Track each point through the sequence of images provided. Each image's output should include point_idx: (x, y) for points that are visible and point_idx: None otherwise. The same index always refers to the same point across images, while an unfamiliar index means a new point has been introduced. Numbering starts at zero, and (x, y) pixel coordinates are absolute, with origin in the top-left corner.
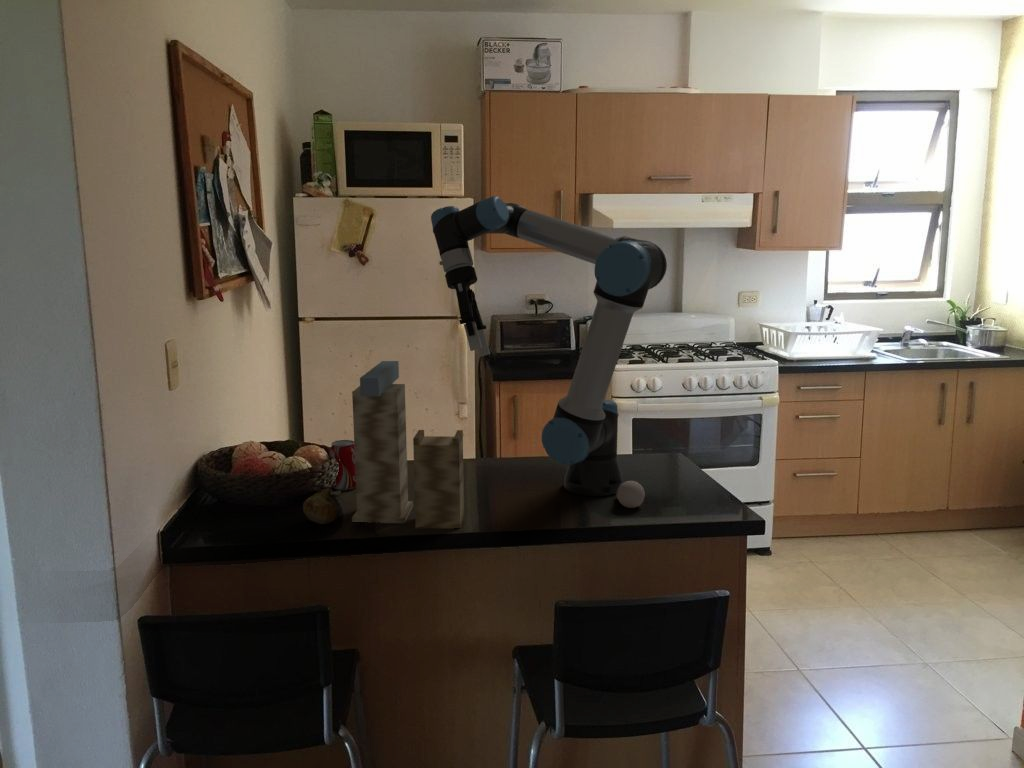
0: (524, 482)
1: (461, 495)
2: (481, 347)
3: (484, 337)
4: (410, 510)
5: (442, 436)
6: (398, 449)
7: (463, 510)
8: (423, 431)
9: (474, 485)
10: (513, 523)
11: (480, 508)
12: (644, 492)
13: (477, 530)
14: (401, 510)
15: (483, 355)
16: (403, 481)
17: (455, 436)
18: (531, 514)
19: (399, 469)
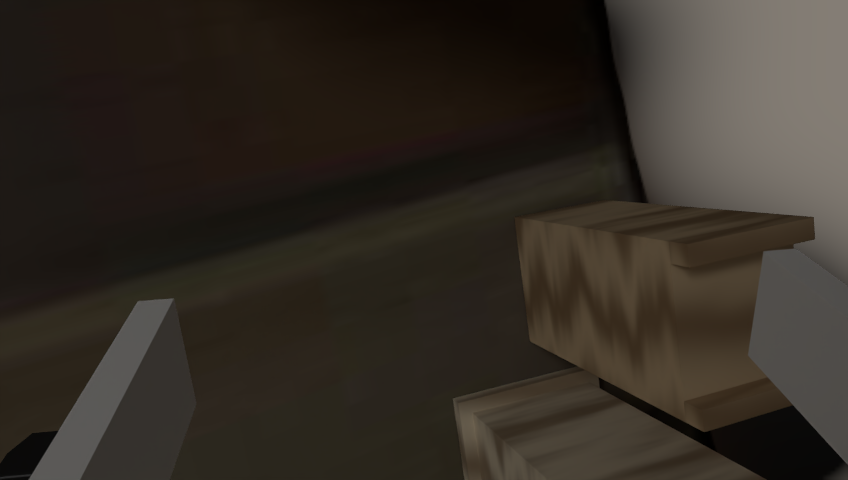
0: (103, 86)
1: (614, 211)
2: (791, 250)
3: (113, 441)
4: (499, 387)
5: (676, 326)
6: (725, 458)
7: (537, 216)
8: (716, 405)
9: (190, 273)
10: (545, 58)
11: (436, 186)
12: None
13: (609, 150)
14: (582, 389)
15: (186, 365)
16: (580, 425)
17: (784, 241)
18: (463, 12)
19: (673, 430)
